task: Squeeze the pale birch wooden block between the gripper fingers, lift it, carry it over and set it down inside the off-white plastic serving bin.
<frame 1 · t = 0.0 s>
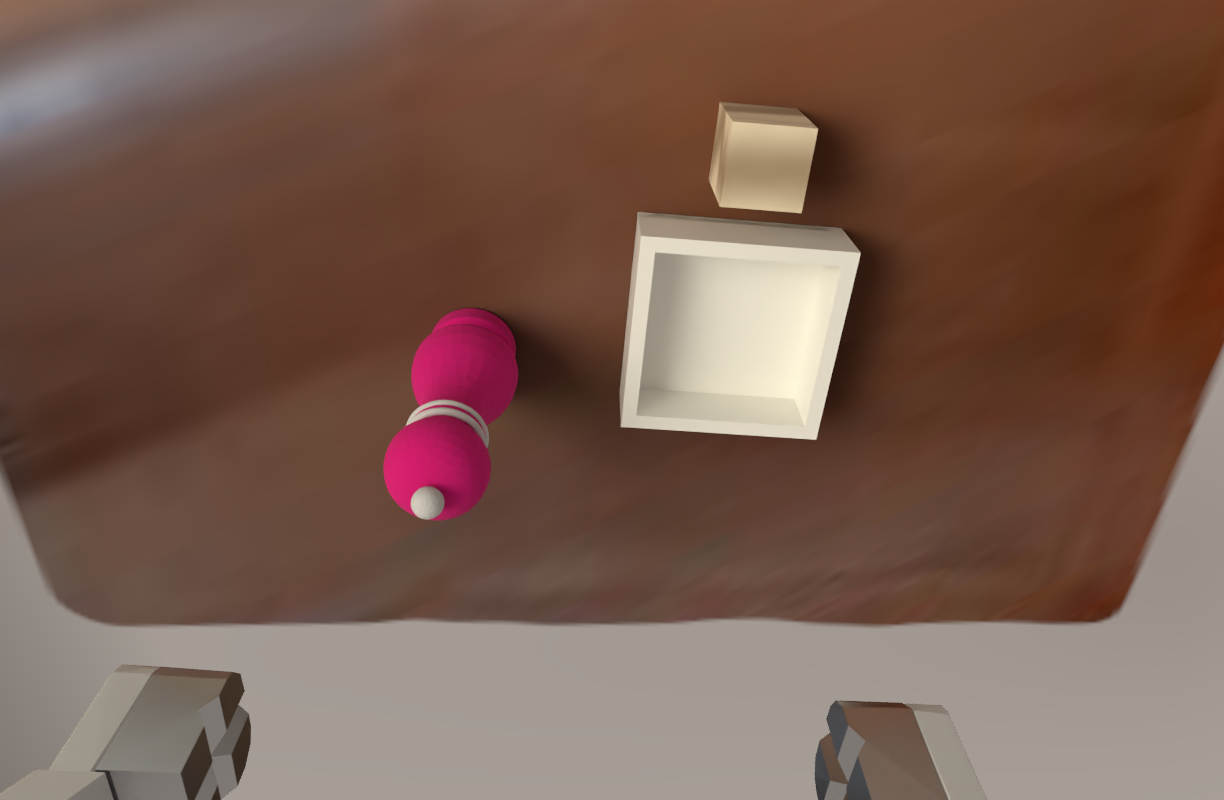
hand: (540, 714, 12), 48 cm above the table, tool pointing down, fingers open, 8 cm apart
pepper mill: (473, 345, 62), on the table
serving bin: (724, 314, 61), on the table
birch block: (752, 144, 55), on the table
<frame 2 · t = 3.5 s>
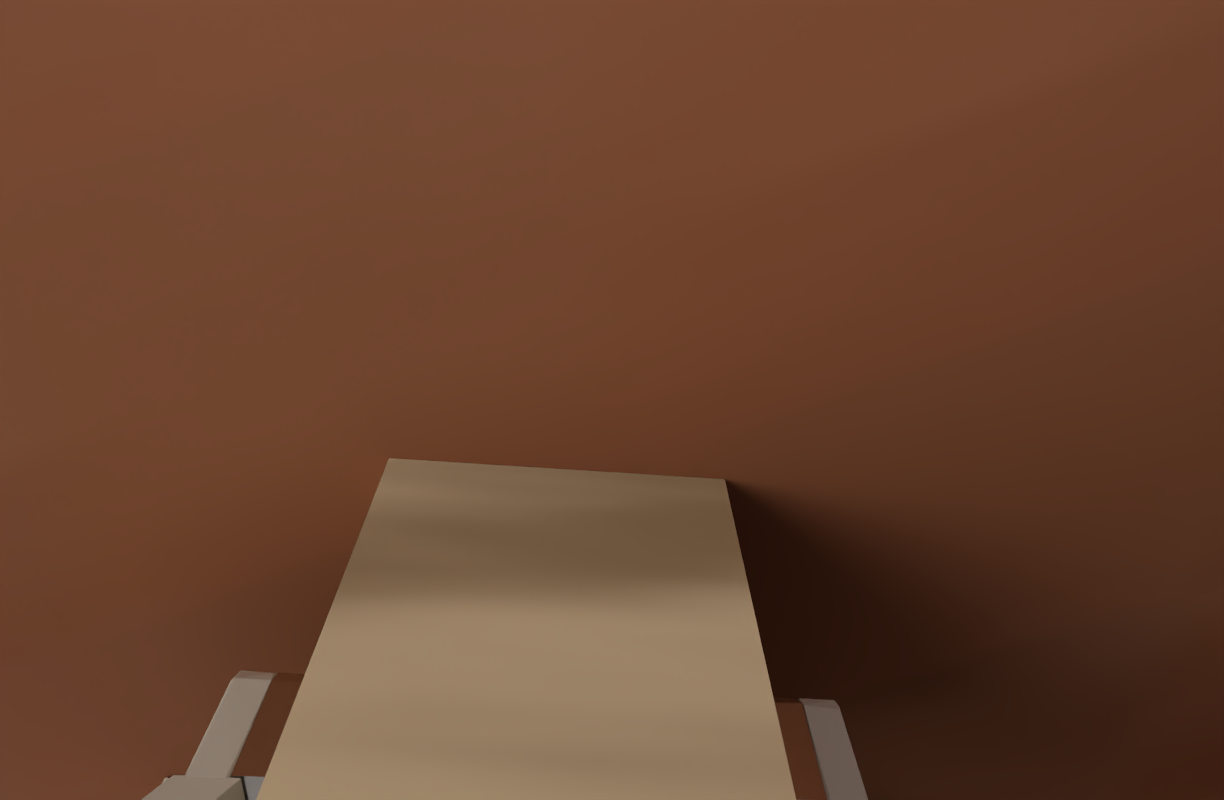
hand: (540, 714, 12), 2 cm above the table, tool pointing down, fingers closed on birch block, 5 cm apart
birch block: (550, 594, 14), on the table, touching gripper
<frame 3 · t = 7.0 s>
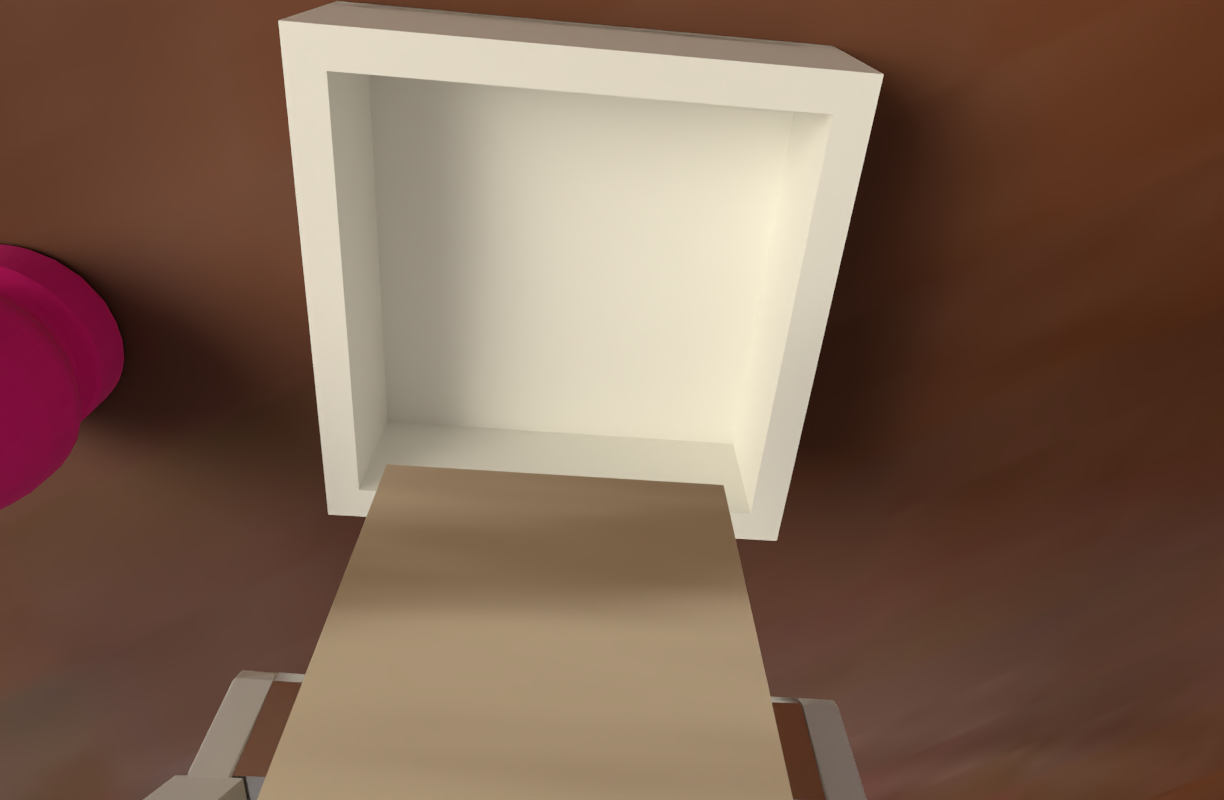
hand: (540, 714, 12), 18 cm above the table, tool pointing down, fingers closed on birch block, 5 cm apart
pepper mill: (32, 328, 29), on the table
serving bin: (573, 259, 27), on the table
birch block: (548, 601, 14), point 16 cm above the table, touching gripper
when the fingers open (5 cm above the table, at t = 10.0 s): birch block drops 2 cm, resting on serving bin.
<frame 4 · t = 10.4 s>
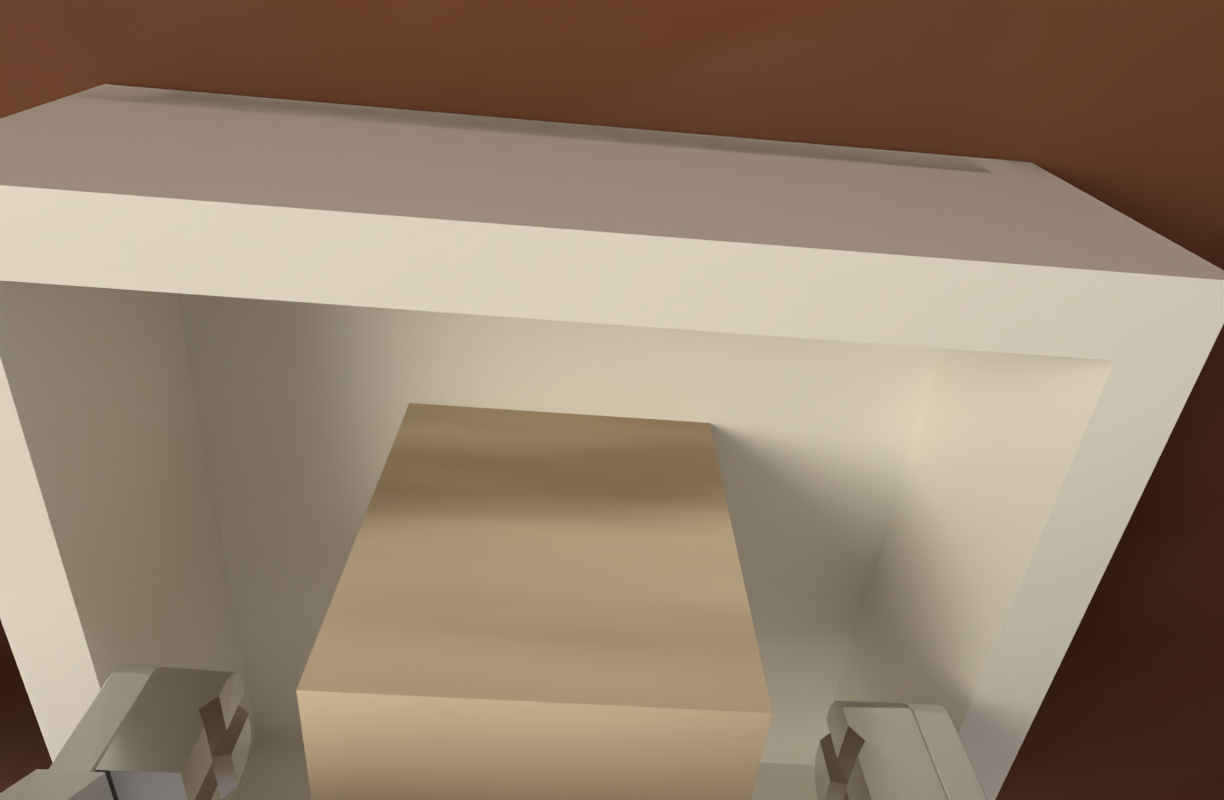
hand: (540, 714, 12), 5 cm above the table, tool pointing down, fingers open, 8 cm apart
serving bin: (556, 499, 16), on the table
birch block: (553, 531, 15), point 1 cm above the table, touching serving bin
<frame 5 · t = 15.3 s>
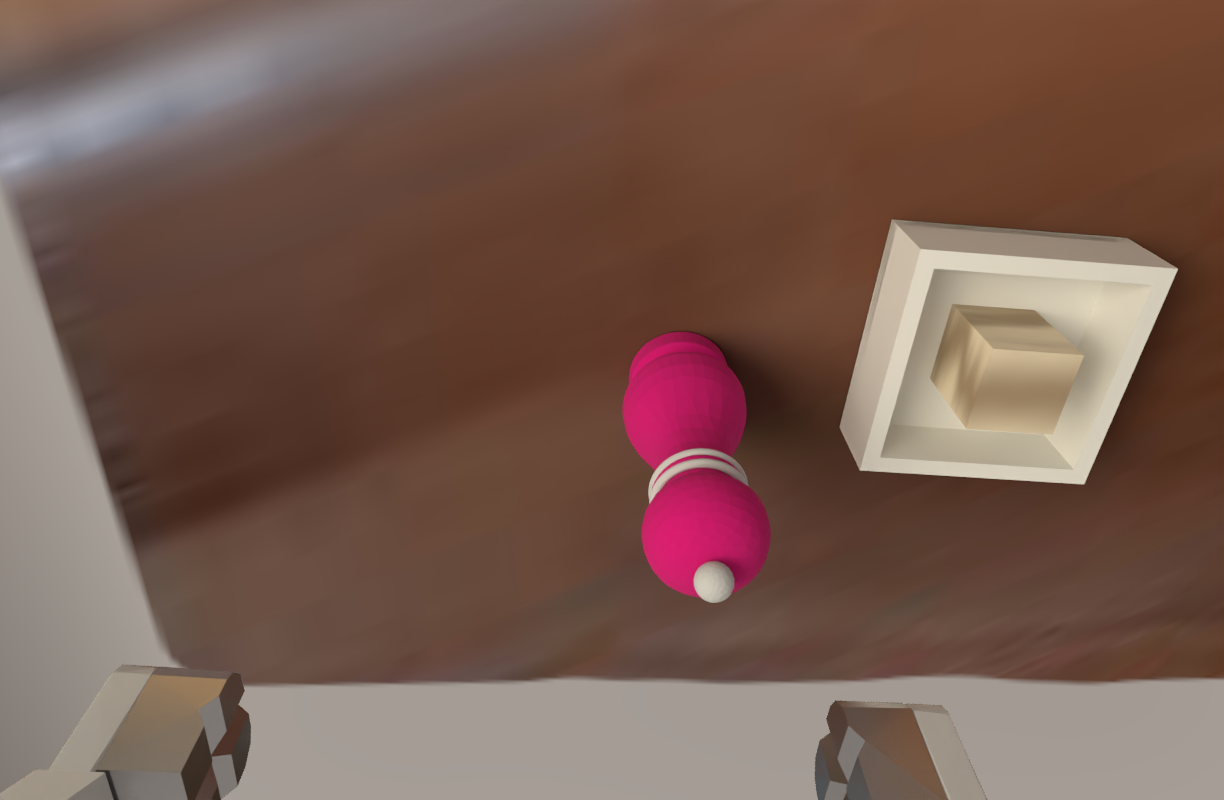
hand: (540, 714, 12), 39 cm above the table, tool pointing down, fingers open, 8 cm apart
pepper mill: (678, 373, 54), on the table
serving bin: (974, 338, 52), on the table
birch block: (980, 344, 52), point 1 cm above the table, touching serving bin
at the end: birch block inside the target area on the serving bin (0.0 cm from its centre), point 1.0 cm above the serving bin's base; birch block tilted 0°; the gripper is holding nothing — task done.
